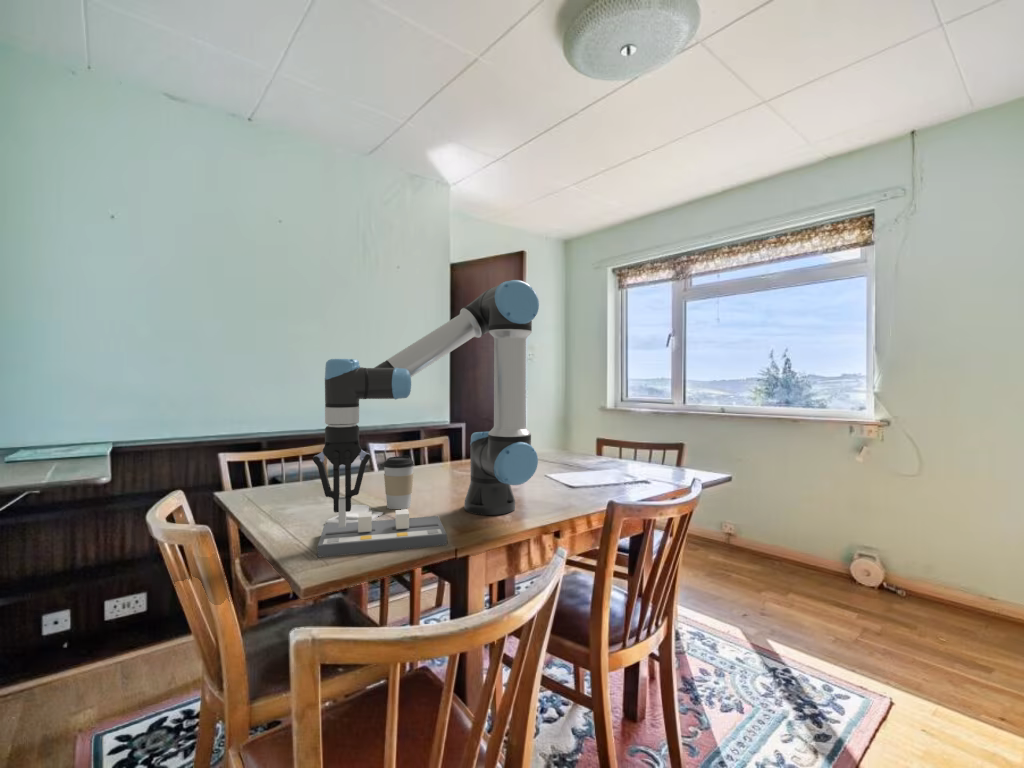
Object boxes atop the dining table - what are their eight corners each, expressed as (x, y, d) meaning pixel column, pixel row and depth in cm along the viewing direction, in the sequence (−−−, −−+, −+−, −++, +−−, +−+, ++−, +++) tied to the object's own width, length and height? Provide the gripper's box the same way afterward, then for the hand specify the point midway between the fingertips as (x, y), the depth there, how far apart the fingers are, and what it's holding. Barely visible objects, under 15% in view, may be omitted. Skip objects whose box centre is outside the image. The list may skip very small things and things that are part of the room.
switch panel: (438, 525, 125) (438, 515, 125) (446, 544, 110) (446, 533, 110) (324, 534, 117) (324, 523, 117) (317, 557, 102) (317, 544, 102)
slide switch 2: (407, 523, 117) (407, 509, 117) (409, 528, 113) (409, 513, 113) (395, 524, 116) (395, 510, 116) (396, 529, 112) (396, 514, 112)
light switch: (384, 503, 136) (364, 513, 123) (383, 517, 136) (364, 529, 123) (348, 501, 137) (325, 511, 125) (347, 516, 137) (324, 527, 124)
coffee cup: (398, 512, 136) (398, 460, 136) (376, 507, 141) (376, 457, 141) (420, 505, 144) (420, 456, 144) (398, 501, 149) (398, 453, 148)
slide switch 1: (371, 526, 115) (371, 511, 115) (371, 531, 111) (371, 516, 111) (358, 527, 114) (358, 512, 114) (358, 532, 110) (358, 517, 110)
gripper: (371, 422, 116) (371, 518, 116) (314, 424, 112) (314, 523, 113) (371, 425, 109) (371, 528, 109) (310, 427, 105) (310, 533, 105)
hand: (342, 525), depth 111 cm, fingers closed
